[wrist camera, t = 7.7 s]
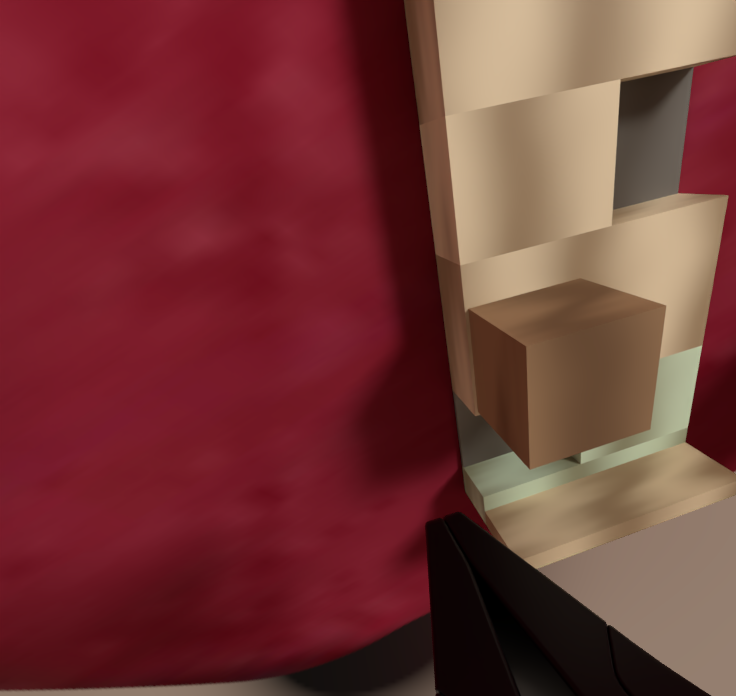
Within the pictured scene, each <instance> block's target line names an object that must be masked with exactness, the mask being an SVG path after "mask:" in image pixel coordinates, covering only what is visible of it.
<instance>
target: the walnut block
mask: <svg viewBox="0 0 736 696" xmlns="http://www.w3.org/2000/svg"><path fill="white" fill-rule="evenodd" d="M468 311H469V322H470V332H471V343H472V354H473V365H474V375H475V386H476V397H477V408H478V413H479V414H480V415H481V416H482V417H483V418H484V419H485V420H486V422H487V423H488V424H489V425H490V426H491V427H492V428H493V429H494V430H495V432H496V433H497V434H498V435H499V436H500V437H501V438H502V439H503V441H504V442H505V443H506V444H507V445H508V446H509V447H510V448H511V449H512V451H513V452H514V453H515V454H516V455H517V456H518V457H519V458H520V459H521V461H522V462H523V463H524V464H525V465H526V466H527V467H528V468H529V469H530V470H531V469H534V468H537V467H540V466H543V465H546V464H549V463H552V462H555V461H558V460H561V459H564V458H567V457H570V456H573V455H576V454H579V453H582V452H585V451H588V450H591V449H594V448H597V447H600V446H603V445H606V444H609V443H612V442H615V441H618V440H621V439H624V438H627V437H630V436H633V435H635V434H638V433H641V432H644V431H647V430H650V429H651V421H652V413H653V406H654V398H655V390H656V382H657V375H658V367H659V359H660V352H661V344H662V336H663V329H664V321H665V313H666V305H663V304H660V303H657V302H654V301H651V300H647V299H644V298H641V297H638V296H635V295H632V294H629V293H626V292H622V291H619V290H616V289H613V288H610V287H607V286H604V285H600V284H597V283H594V282H591V281H588V280H585V279H582V278H579V279H575V280H572V281H568V282H564V283H561V284H557V285H553V286H550V287H546V288H542V289H539V290H535V291H531V292H528V293H524V294H520V295H517V296H513V297H509V298H506V299H502V300H498V301H495V302H491V303H487V304H484V305H480V306H477V307H473V308H469V309H468Z"/></svg>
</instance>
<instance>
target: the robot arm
mask: <svg viewBox="0 0 736 696" xmlns="http://www.w3.org/2000/svg"><path fill="white" fill-rule="evenodd" d="M425 529H426V545H427V562H428V578H429V594H430V610H431V627H432V641H433V642H432V643H433V659H434V674H435V690H436V696H711V695H709V694H708V693H706V692H705V691H703V690H701V689H700V688H698V687H697V686H695V685H694V684H692V683H691V682H689V681H688V680H686V679H685V678H683V677H682V676H680V675H679V674H677V673H676V672H674V671H673V670H671V669H670V668H668V667H667V666H665V665H664V664H662V663H661V662H659V661H658V660H657V659H655V658H654V657H653V656H651V655H650V654H649V653H647V652H646V651H644V650H643V649H642V648H640V647H639V646H637V645H636V644H635V643H633V642H632V641H630V640H629V639H628V638H627V637H625V636H624V635H623V634H621V633H620V632H618V631H617V630H616V629H615V628H614V627H612V626H611V625H608V626H607V624H606V622H605V621H604V620H603V619H601V618H600V617H599V616H597V615H596V614H595V613H593V612H592V611H591V610H590V609H588V608H587V607H586V606H584V605H583V604H582V603H580V602H579V601H578V600H576V599H575V598H573V597H572V596H571V595H570V594H568V593H567V592H566V591H564V590H563V589H562V588H560V587H559V586H558V585H556V584H555V583H554V582H553V581H551V580H550V579H549V578H547V577H546V576H545V575H543V574H542V573H541V572H539V571H538V570H537V569H535V568H534V567H533V566H531V565H530V564H529V563H527V562H526V561H525V560H524V559H522V558H521V557H520V556H518V555H517V554H516V553H514V552H513V551H512V550H510V549H509V548H508V547H506V546H505V545H504V544H502V543H501V542H500V541H498V540H497V539H496V538H494V537H493V536H492V535H490V534H489V533H488V532H487V531H485V530H484V529H483V528H481V527H480V526H479V525H477V524H476V523H475V522H473V521H472V520H471V519H469V518H468V517H467V516H465V515H464V514H463V513H461V512H455V513H452V514H449V515H446V516H444V518H443V519H442V518H438V519H435V520H432V521H429V522H427V523H426V525H425Z"/></svg>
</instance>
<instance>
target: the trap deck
mask: <svg viewBox="0 0 736 696" xmlns="http://www.w3.org/2000/svg"><path fill="white" fill-rule="evenodd" d="M404 6H405V14H406V22H407V30H408V38H409V46H410V54H411V62H412V70H413V78H414V86H415V94H416V102H417V110H418V118H419V126H420V134H421V142H422V150H423V158H424V166H425V174H426V182H427V190H428V198H429V206H430V214H431V222H432V230H433V238H434V246H435V254H436V262H437V270H438V278H439V286H440V294H441V302H442V310H443V318H444V326H445V334H446V342H447V350H448V358H449V366H450V374H451V382H452V390H453V398H454V406H455V414H456V422H457V430H458V438H459V446H460V454H461V462H462V470H463V478H464V486H465V492H466V494H467V495H468V497H469V499H470V500H471V502H472V503H473V505H474V506H475V508H476V510H477V511H478V513H479V514H480V516H481V518H482V519H483V521H484V522H485V524H486V526H487V527H488V529H489V530H490V532H491V534H492V535H493V537H494V538H496V539H497V540H498V541H500V542H501V543H502V544H504V545H505V546H506V547H508V548H509V549H510V550H512V551H513V552H514V553H516V554H517V555H518V556H520V557H521V558H522V559H524V560H525V561H526V562H527V563H529V564H530V565H531V566H533V567H534V568H535V569H538V568H541V567H543V566H546V565H549V564H552V563H554V562H557V561H560V560H562V559H565V558H568V557H570V556H573V555H576V554H578V553H581V552H584V551H587V550H589V549H592V548H595V547H597V546H600V545H603V544H605V543H608V542H611V541H613V540H616V539H619V538H622V537H624V536H627V535H630V534H632V533H635V532H638V531H640V530H643V529H646V528H648V527H651V526H654V525H656V524H659V523H662V522H665V521H667V520H670V519H673V518H675V517H678V516H681V515H683V514H686V513H689V512H691V511H694V510H697V509H700V508H702V507H705V506H707V505H710V504H713V503H716V502H718V501H721V500H724V499H726V498H729V497H732V496H734V495H736V474H735V473H733V472H732V471H730V470H728V469H727V468H725V467H724V466H722V465H721V464H719V463H717V462H716V461H714V460H713V459H711V458H709V457H708V456H706V455H705V454H703V453H702V452H700V451H698V450H697V449H695V448H694V447H692V446H690V445H689V444H687V443H686V442H685V441H686V435H687V429H688V424H689V418H690V412H691V407H692V401H693V395H694V389H695V384H696V378H697V372H698V367H699V361H700V355H701V349H702V344H703V338H704V332H705V327H706V321H707V315H708V310H709V304H710V298H711V292H712V287H713V281H714V275H715V270H716V264H717V258H718V252H719V247H720V241H721V235H722V230H723V224H724V218H725V213H726V207H727V201H728V195H706V194H678V188H679V180H680V172H681V164H682V156H683V148H684V140H685V132H686V124H687V116H688V108H689V100H690V91H691V83H692V75H693V67H695V66H699V65H703V64H706V63H710V62H714V61H718V60H722V59H725V58H729V57H733V56H736V0H404ZM579 278H582V279H585V280H588V281H591V282H594V283H597V284H600V285H604V286H607V287H610V288H613V289H616V290H619V291H622V292H626V293H629V294H632V295H635V296H638V297H641V298H644V299H647V300H651V301H654V302H657V303H660V304H663V305H666V313H665V321H664V329H663V336H662V344H661V352H660V359H659V367H658V375H657V382H656V390H655V398H654V406H653V413H652V421H651V429H650V430H647V431H644V432H641V433H638V434H635V435H633V436H630V437H627V438H624V439H621V440H618V441H615V442H612V443H609V444H606V445H603V446H600V447H597V448H594V449H591V450H588V451H585V452H582V453H579V454H576V455H573V456H570V457H567V458H564V459H561V460H558V461H555V462H552V463H549V464H546V465H543V466H540V467H537V468H534V469H531V470H530V469H529V468H528V467H527V466H526V465H525V464H524V463H523V462H522V461H521V459H520V458H519V457H518V456H517V455H516V454H515V453H514V452H513V451H512V449H511V448H510V447H509V446H508V445H507V444H506V443H505V442H504V441H503V439H502V438H501V437H500V436H499V435H498V434H497V433H496V432H495V430H494V429H493V428H492V427H491V426H490V425H489V424H488V423H487V422H486V420H485V419H484V418H483V417H482V416H481V415H480V414H479V413H478V408H477V397H476V386H475V375H474V365H473V354H472V343H471V332H470V322H469V311H468V309H469V308H473V307H477V306H480V305H484V304H487V303H491V302H495V301H498V300H502V299H506V298H509V297H513V296H517V295H520V294H524V293H528V292H531V291H535V290H539V289H542V288H546V287H550V286H553V285H557V284H561V283H564V282H568V281H572V280H575V279H579Z"/></svg>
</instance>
